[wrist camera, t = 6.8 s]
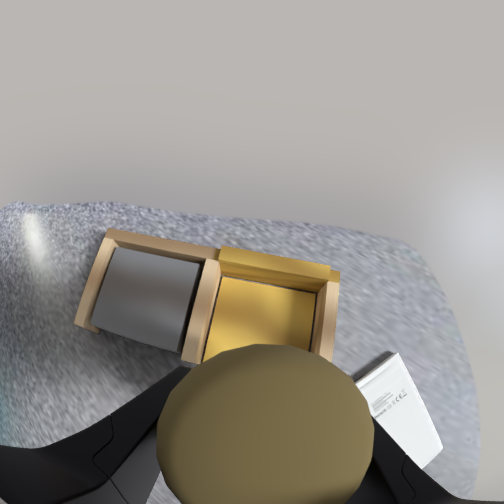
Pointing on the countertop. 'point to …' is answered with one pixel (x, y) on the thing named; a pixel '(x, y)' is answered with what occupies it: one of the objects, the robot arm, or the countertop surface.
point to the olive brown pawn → (265, 430)
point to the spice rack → (206, 297)
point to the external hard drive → (400, 409)
